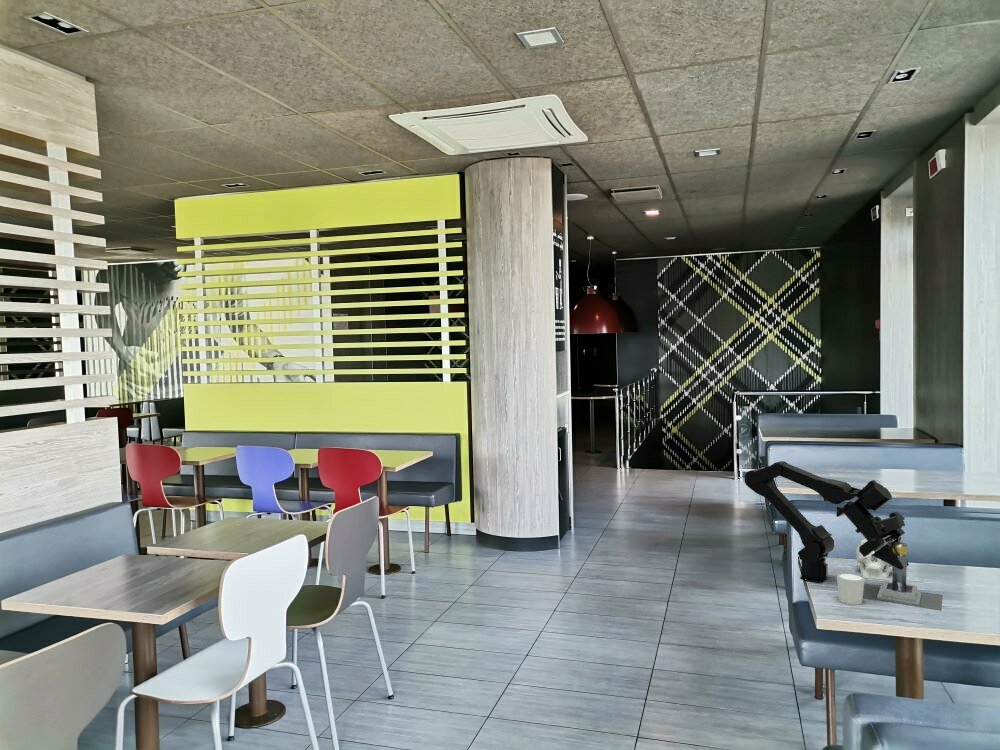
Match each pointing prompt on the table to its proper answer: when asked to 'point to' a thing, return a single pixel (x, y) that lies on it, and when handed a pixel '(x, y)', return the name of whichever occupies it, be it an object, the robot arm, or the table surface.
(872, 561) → the skull bowl
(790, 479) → the robot arm
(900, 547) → the grey yellow-banded cylinder
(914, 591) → the silver square tray
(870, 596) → the mat
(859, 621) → the table surface
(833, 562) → the table surface
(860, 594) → the white cylinder
